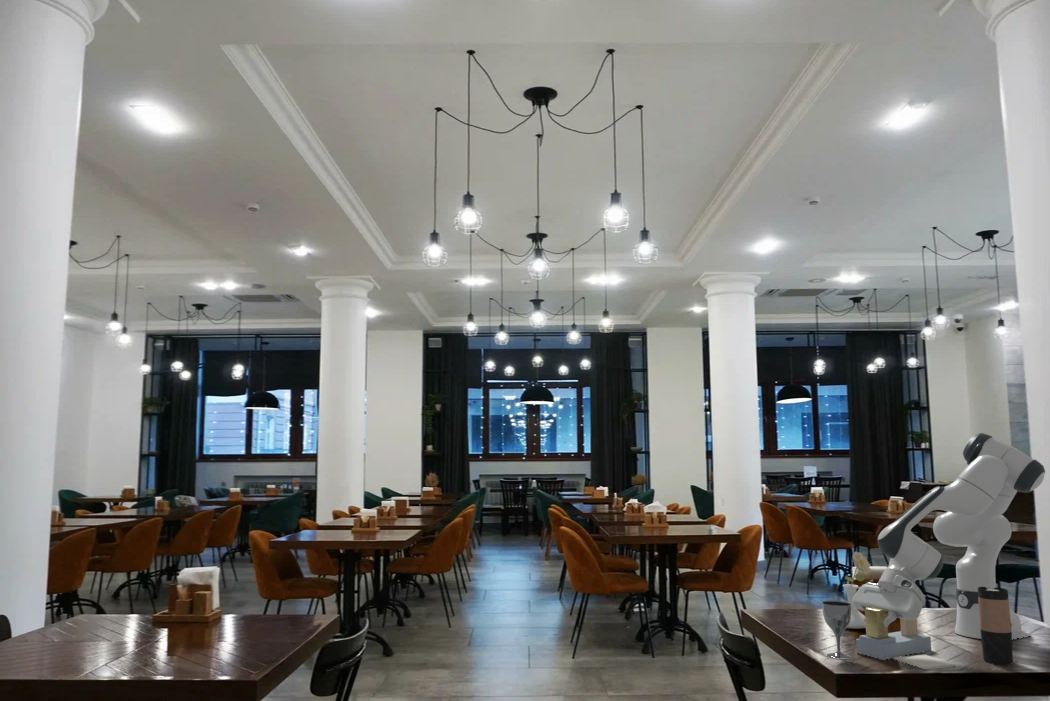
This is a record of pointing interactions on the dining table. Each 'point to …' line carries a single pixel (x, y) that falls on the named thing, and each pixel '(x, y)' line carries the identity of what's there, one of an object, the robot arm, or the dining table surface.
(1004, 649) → the travel mug
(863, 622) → the flower in vase
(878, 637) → the yellow rectangular block
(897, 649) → the grey stepped base plate
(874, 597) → the robot arm
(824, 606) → the wine glass
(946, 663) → the felt mat
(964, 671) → the dining table surface
